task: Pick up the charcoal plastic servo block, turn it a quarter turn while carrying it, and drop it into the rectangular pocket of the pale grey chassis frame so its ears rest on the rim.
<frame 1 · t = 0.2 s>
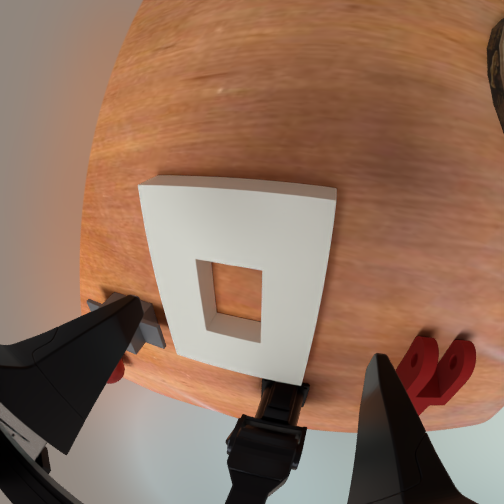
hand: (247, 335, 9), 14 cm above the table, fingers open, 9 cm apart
chassis: (240, 286, 27), on the table
mechanical linkage: (418, 371, 27), on the table
onion: (120, 354, 46), on the table
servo: (136, 308, 36), on the table
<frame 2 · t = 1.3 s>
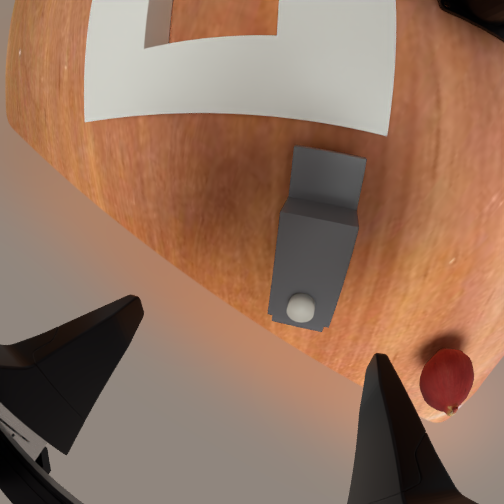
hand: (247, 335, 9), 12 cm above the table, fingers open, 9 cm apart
chassis: (224, 11, 13), on the table
onion: (441, 349, 22), on the table
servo: (317, 230, 20), on the table
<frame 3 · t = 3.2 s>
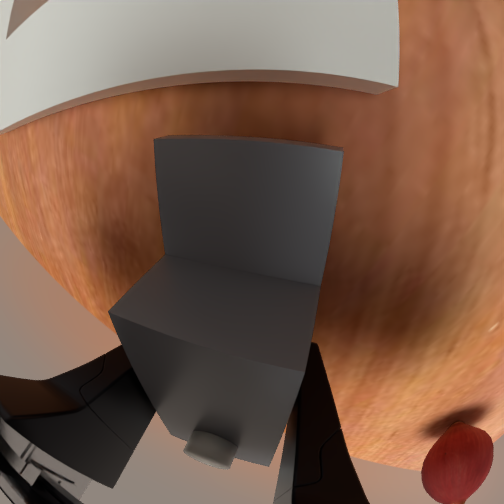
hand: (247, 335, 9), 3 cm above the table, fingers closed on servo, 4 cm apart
onion: (455, 421, 13), on the table
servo: (265, 292, 11), on the table, touching gripper
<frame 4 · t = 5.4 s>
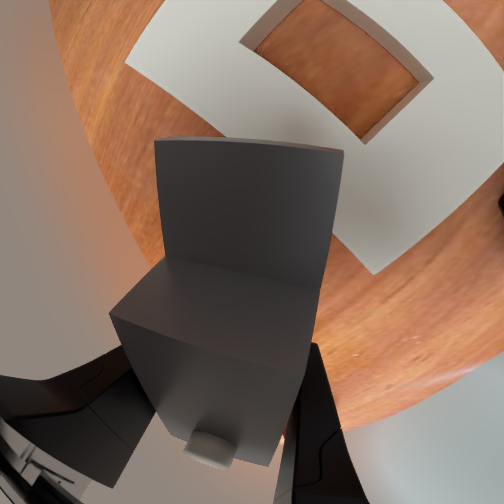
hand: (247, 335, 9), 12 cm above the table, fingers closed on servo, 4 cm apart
chassis: (337, 60, 13), on the table
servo: (265, 293, 11), point 9 cm above the table, touching gripper
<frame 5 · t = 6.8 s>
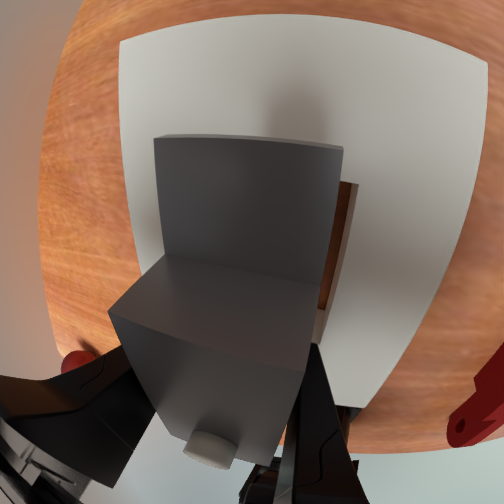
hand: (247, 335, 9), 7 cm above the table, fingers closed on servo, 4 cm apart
chassis: (286, 239, 15), on the table
mechanical linkage: (495, 375, 16), on the table
onion: (94, 352, 34), on the table
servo: (265, 291, 11), point 5 cm above the table, touching gripper
when the fingers open (4 cm above the table, at t = 7.8 s): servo drops 1 cm, resting on chassis.
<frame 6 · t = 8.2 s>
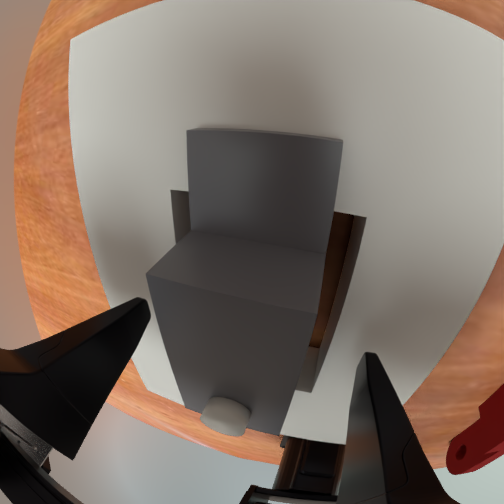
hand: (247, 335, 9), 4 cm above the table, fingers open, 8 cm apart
chassis: (273, 272, 12), on the table
mechanical linkage: (500, 402, 13), on the table
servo: (274, 272, 12), resting on chassis
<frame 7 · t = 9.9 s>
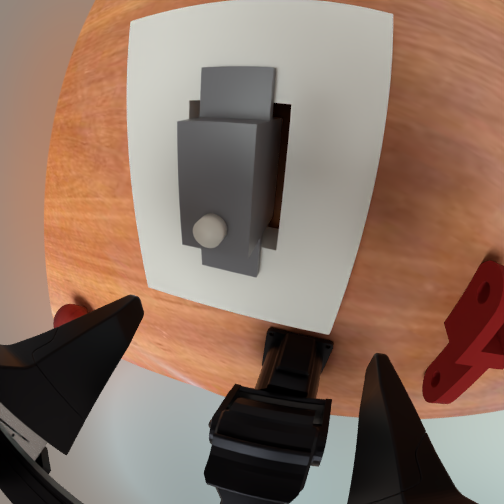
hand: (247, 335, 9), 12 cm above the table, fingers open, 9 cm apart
chassis: (249, 164, 18), on the table
mechanical linkage: (468, 326, 19), on the table
onion: (86, 307, 37), on the table
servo: (249, 164, 18), resting on chassis
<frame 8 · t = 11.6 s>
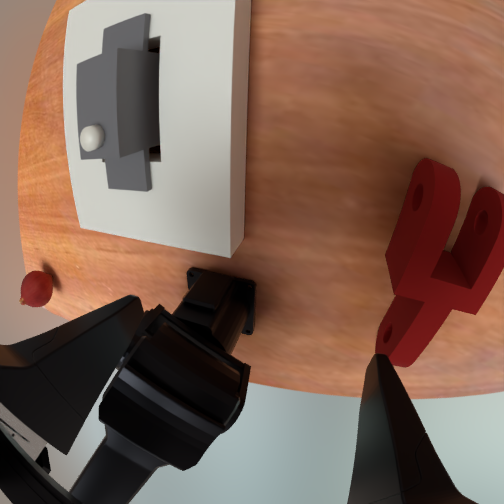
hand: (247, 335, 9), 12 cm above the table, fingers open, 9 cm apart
chassis: (150, 100, 18), on the table
mechanical linkage: (422, 263, 18), on the table
onion: (52, 276, 36), on the table
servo: (150, 100, 18), resting on chassis
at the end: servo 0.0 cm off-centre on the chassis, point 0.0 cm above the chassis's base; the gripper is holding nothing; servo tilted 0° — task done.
